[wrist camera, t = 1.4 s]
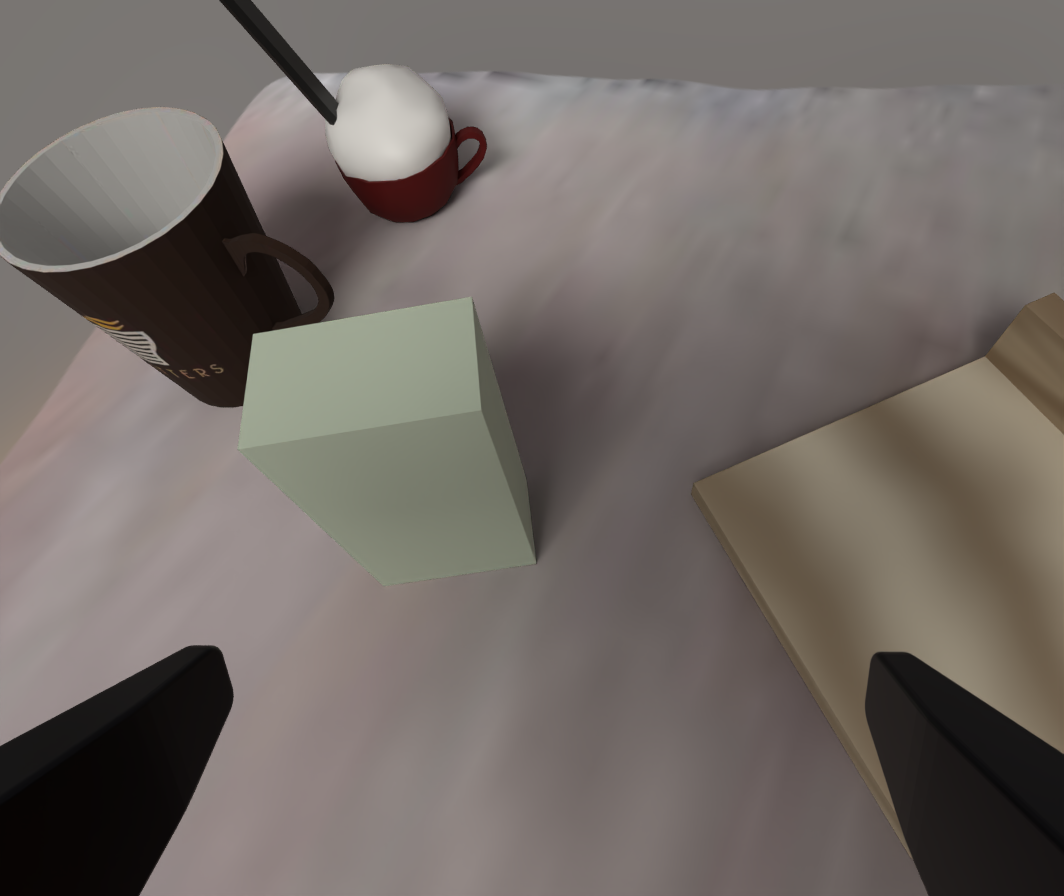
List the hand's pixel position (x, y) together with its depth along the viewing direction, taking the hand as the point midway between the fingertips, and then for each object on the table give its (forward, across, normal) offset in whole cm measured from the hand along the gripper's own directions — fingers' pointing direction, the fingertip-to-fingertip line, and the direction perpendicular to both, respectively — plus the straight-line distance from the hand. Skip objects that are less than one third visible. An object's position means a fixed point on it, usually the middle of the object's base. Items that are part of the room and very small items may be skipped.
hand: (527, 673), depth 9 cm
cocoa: (+31, +10, -6) cm, 33 cm away
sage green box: (+15, +5, +6) cm, 17 cm away
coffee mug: (+22, +16, +1) cm, 27 cm away
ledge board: (+14, -13, +7) cm, 21 cm away
